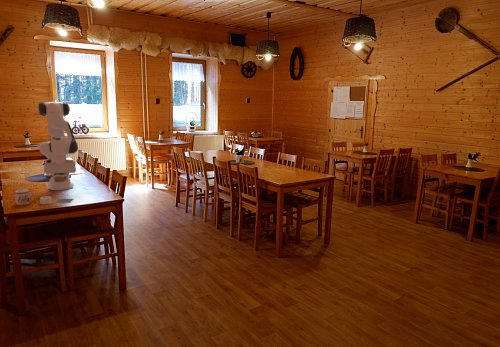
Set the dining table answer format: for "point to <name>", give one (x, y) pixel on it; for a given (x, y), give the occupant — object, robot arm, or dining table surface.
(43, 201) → the bowl
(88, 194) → the dining table surface
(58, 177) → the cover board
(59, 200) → the mat
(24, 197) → the teacup with lid
